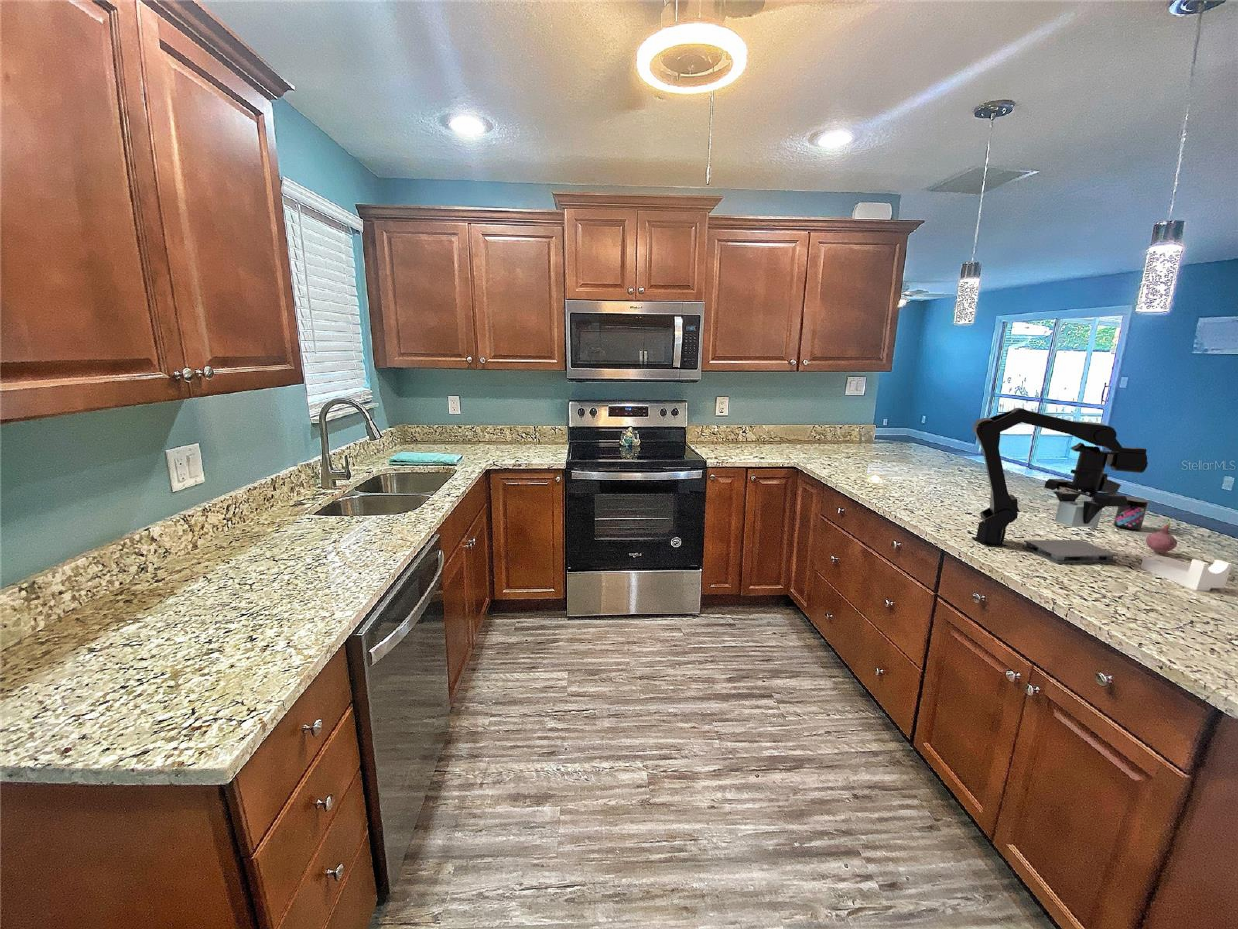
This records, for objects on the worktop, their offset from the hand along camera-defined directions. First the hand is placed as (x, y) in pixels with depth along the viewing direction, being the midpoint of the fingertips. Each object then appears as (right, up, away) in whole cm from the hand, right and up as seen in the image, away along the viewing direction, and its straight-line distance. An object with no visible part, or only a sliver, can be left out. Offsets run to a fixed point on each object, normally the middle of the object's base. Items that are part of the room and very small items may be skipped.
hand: (1076, 520), depth 138 cm
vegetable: (+29, -11, +5) cm, 31 cm away
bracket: (+17, -15, -11) cm, 25 cm away
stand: (0, -11, +3) cm, 11 cm away
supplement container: (+42, -6, +26) cm, 50 cm away
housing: (0, -1, 0) cm, 1 cm away
